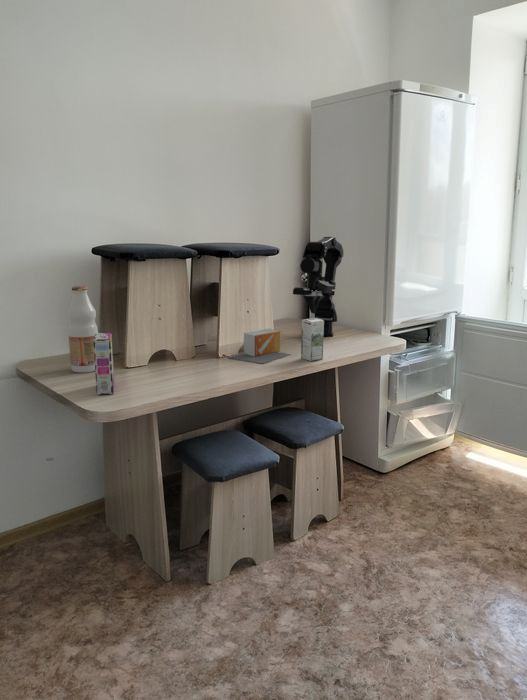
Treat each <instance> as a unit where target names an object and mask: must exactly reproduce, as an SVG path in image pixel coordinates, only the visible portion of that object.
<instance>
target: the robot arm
mask: <svg viewBox="0 0 527 700" xmlns="http://www.w3.org/2000/svg"><path fill="white" fill-rule="evenodd" d="M342 245H343V244H341V243H340V242H338V240H337V239H336V237H334V236H323V237H322V239H319V240H318V241H308V242H307V244H306V246H305V247H304V248H305V249H304V252H303V256H302V260H301V262H300V266H299V267H300V270H301V271H302V272H303V274H304V273H305V274H307V275H306V276H304V277H305V279H306V282H307V283H306V286H304V287H294V288H293V289H292V295H294V296H295V295H297V296H298V295H300V296H302V297H303V298H304V300H305V301H306V303H307V306H308V308H309V311H310V313H311V314H314V318H318V319H321V320H323V321H324V336H323V337H334V334H335V332H333V326H334V325H333V323H336V322H338V314H337V311H336V310H337V309H336V305H335V303H334V300H333V296H335V290H336V284H337V283H336V274H337V268H338V266H340V264H341V263H342V259H343V257H344V248H343V246H342ZM324 263H325V269H324V270H325V271H324V276H323V264H324Z"/></svg>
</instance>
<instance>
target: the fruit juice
mask: <svg viewBox="0 0 527 700" xmlns="http://www.w3.org/2000/svg"><path fill="white" fill-rule="evenodd" d="M88 291H89V288H88V286H87V285H75V286H72V287H71V292H72V298H71V300H70V301H71V302H70V305H69V307H68V309H67V312H66V316H67V321H68V323H69V324H68V328H67V334H68V345H69V356H70V359H69V360H70V369H71V371H72V372H74V373H79V374H81V373H82V374H85V373H92V372H95V358H94V342H93V340H94V337H95V334H96V333H99V331H98V329H99V328H98V325H97V323H96V318H97V311H96V309H95V307H94V305H93V304H92V302H91V299H90V297H89V295H88Z"/></svg>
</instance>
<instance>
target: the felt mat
mask: <svg viewBox="0 0 527 700" xmlns="http://www.w3.org/2000/svg"><path fill="white" fill-rule="evenodd" d="M234 355H235V356H233V355H230V356H231V357H230V356H227V359H232V360H237V361H242V362H243V361H244V362H249V363H255V364H260V365H265V364H268V363H272V362H273V360H274V361H277V360H279V358H280V359H282V357H283V358H285V357H284V356H286V357H288V356H287V355H289V356H291V353H286V352H281V351H280V352H275V353H270V354H265V355H260V356H255V357H254V356H250V355H247V354H244V351H243V352H240V353H238V355H236V354H234ZM276 359H277V360H276Z"/></svg>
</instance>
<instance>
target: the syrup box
mask: <svg viewBox="0 0 527 700" xmlns="http://www.w3.org/2000/svg"><path fill="white" fill-rule="evenodd" d="M300 337H301V338H300V341H301V342H300V343H301V347H300V348H301V349H300V359H302V358H303V359H302V360H305V359H306V360H305V361H308V360H309V361H308V362H314V360H315V361H320V359H321V360H324V337H325V336H324V321H323V320H321V319H318V318H315V317H312V318H306V319H305V318H304V319H301V336H300Z"/></svg>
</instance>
